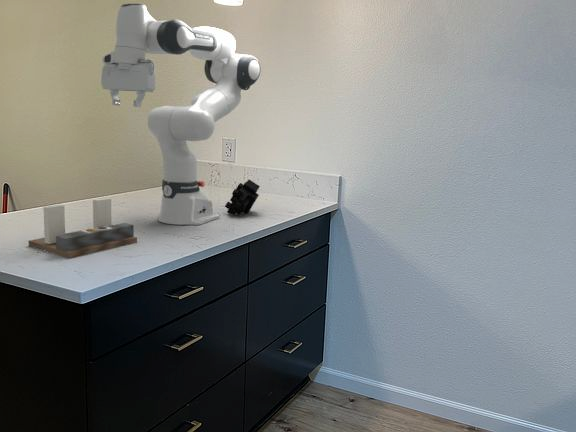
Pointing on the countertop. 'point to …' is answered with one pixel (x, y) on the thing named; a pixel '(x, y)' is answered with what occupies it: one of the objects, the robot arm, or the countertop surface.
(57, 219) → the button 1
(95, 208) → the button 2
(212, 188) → the countertop surface
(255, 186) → the toy
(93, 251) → the console
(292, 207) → the countertop surface
